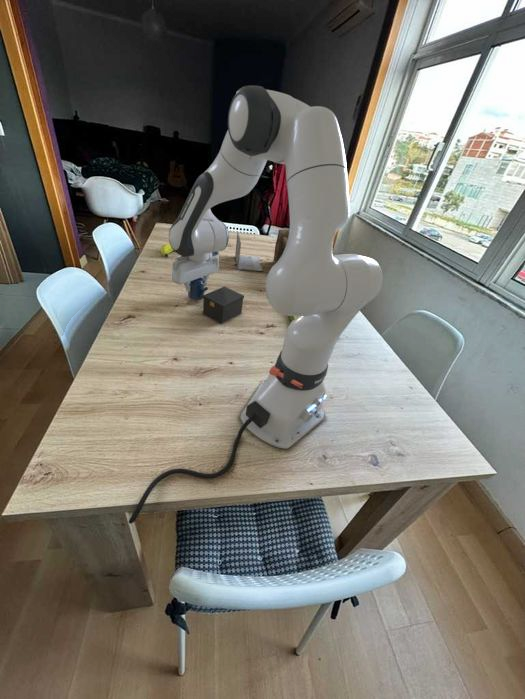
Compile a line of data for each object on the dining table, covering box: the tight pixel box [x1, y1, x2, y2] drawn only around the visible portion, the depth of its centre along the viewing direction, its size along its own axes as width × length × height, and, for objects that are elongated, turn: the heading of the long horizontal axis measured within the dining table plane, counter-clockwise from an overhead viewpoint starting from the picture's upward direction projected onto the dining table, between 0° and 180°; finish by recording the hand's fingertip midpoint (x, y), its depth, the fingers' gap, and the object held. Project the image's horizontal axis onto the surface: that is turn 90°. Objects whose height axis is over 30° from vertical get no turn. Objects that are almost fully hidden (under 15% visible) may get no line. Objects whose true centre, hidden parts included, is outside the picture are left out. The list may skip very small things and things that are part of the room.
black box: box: [202, 286, 245, 324], centre depth 105 cm, size 12×10×7 cm
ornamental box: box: [272, 229, 290, 264], centre depth 141 cm, size 35×18×18 cm, turn 7°
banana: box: [160, 242, 175, 258], centre depth 146 cm, size 5×17×15 cm
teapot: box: [187, 277, 209, 301], centre depth 109 cm, size 11×6×8 cm, turn 55°
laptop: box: [234, 231, 264, 272], centre depth 146 cm, size 18×12×13 cm
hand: (196, 288), depth 110 cm, fingers closed on teapot, 6 cm apart
